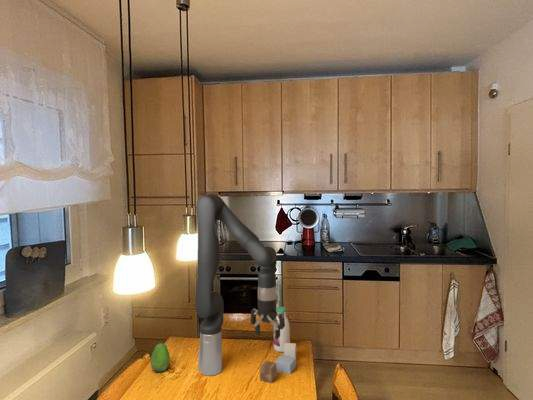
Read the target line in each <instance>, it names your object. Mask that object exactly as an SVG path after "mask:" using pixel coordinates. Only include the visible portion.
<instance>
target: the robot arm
mask: <svg viewBox="0 0 533 400" xmlns="http://www.w3.org/2000/svg"><path fill="white" fill-rule="evenodd" d="M195 205H196V207H195V208H196V210H195V211H196V219H197V276H196V277H197V278H196V279H197V280H196V290H195V292H196V293H195V299H194V300H195V301H194V306H195V307H194V308H195V312H196V314H197V316H198V317H199V318H201V319H203V320H202V321H201V322H200V324H199V348H198V350H197V354H198V355H197V359H198V361H197V362H198V372H200V373H201V374H202V375H204V376H208V377H209V376H215V375H219V374H220V373H221V372H222V371H223V342H222V341H223V337H222V335H223V334H222V331H223V330H222V328H223V327H222V326H223V324H224V309H225V307H224V298H223V297H222V295H221V293H219V292H218V291H214V290H213V289H212V287H213V283H214V280H215V277H216V275H217V272H218V271H219V267H220V265H221V248H220V247H221V246H220V243H219V240H218V237H217V233H216V227H215V226H216V224H215V223H216V219H217V220H219V221H220V222H222V224H223V225H224V226H225V227H226V228H227V229H228V231H229V233H230V236H232V237H233V239H234V240H235V241H236V242H237V243H238V244H239V245H240V246H241V247H243V248H244V249H245V250H246V251H247V253H248V254H249V255H250V257H251V258H252V260H253V261H254V262H255V263H256V264H257V265H259V266H260V267H259V268H260V270H259V273H258V274H257V275H258V276H257V309H256V307H254V308H252V309H251V310H250V325H254V332H255V335H256V336H260V334H261V325H260V324H261V323H262V322H263V323H268V324H271V326H273V328H274V327H275V329H276V330H275V339H278V338H279V337H280V329H281V330H282V329H283V328H284V327H285V320H284V313H283V312H282V313H277V295H278V294H277V287H276V283H277V282H276V270H277V263H278V258H277V256H278V255H277V251H276V250H275V249H274V247H271V246H264V245H263V244H262V243H261V242H260V238H259V237H258V235H256V234H255V233H254V232H253V231H252V230H251V229H250V228H249V227H248V226H246V225H245V224H244V223H243V222H242V220H240V218H238V216H236V214H234V212H233V211H232V210H231V209H230V207H229V206H228V205H227V204H226V202H225V201H224V200H223V199H222V198H221V197H220V196H219V195H218V194H215V193H211V194H203V195H201V196H199V198H198V199H197V202H196V204H195ZM212 290H213V291H212ZM257 315H258V317H259V318H257ZM276 317H278V319H279V323H278V320H277V318H276Z"/></svg>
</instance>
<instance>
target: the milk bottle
mask: <svg viewBox="0 0 533 400" xmlns="http://www.w3.org/2000/svg"><path fill="white" fill-rule="evenodd" d="M276 311H277V313H282V312H283V313H284V320H285V327H284V328H283V329H282V330H281V329H280V337H279V338H278V339H275V330H276V329H275V327H274V326H273V350H274V351H276V352H277V353H284V345H285V343H291V339H290V338H291V337H290V336H291V334H290V333H291V332H290V331H291V329H290V322H289V319H288V317H287V308H286V307H285V306H276ZM276 318H277V320H278V323H279V319H278V317H276Z"/></svg>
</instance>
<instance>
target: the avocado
mask: <svg viewBox="0 0 533 400" xmlns="http://www.w3.org/2000/svg"><path fill="white" fill-rule="evenodd" d="M170 359H171V356H170V352H169V350H168V347H167V344H165V343H163V342H159V343H157V344H156V345H155V347H154V349H153V351H152V354H151V357H150V366H151V369H152V370H153V371H155V372H156V373H161V372H163V371H165V370H167V368H168V366H169V364H170Z"/></svg>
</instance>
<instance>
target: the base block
mask: <svg viewBox="0 0 533 400" xmlns="http://www.w3.org/2000/svg"><path fill="white" fill-rule="evenodd" d="M274 363H276V372H279V373H284V374H288V375H290V374H292V372H293V371H294V370H295V368H297V357H296V358H295V357H290V356H286V355H284V354H280V355H279V357H277V358H276V360H275V361H274Z"/></svg>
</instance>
